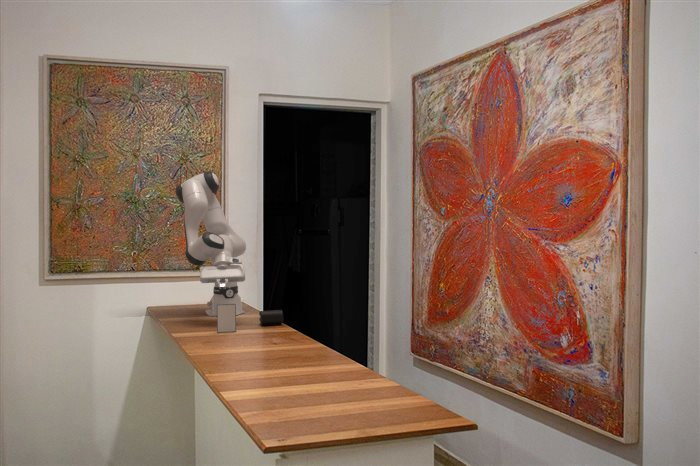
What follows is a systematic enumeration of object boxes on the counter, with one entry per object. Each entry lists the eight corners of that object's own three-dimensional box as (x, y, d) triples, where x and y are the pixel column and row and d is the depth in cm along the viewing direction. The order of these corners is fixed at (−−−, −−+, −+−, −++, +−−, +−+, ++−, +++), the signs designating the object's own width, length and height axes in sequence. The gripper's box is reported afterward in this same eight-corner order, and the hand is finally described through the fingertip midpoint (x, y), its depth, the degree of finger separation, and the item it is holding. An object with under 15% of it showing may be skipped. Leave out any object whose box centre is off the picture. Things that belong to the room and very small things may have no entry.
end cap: (261, 327, 327) (261, 312, 327) (258, 324, 334) (258, 309, 333) (283, 325, 330) (283, 310, 330) (280, 323, 337) (279, 308, 337)
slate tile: (217, 332, 315) (216, 304, 315) (236, 331, 317) (235, 303, 316) (217, 332, 313) (216, 304, 313) (236, 332, 315) (235, 304, 314)
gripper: (199, 261, 333) (198, 284, 324) (244, 259, 336) (244, 282, 326) (200, 270, 338) (199, 293, 328) (245, 268, 340) (245, 291, 331)
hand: (222, 288), depth 327 cm, fingers closed
